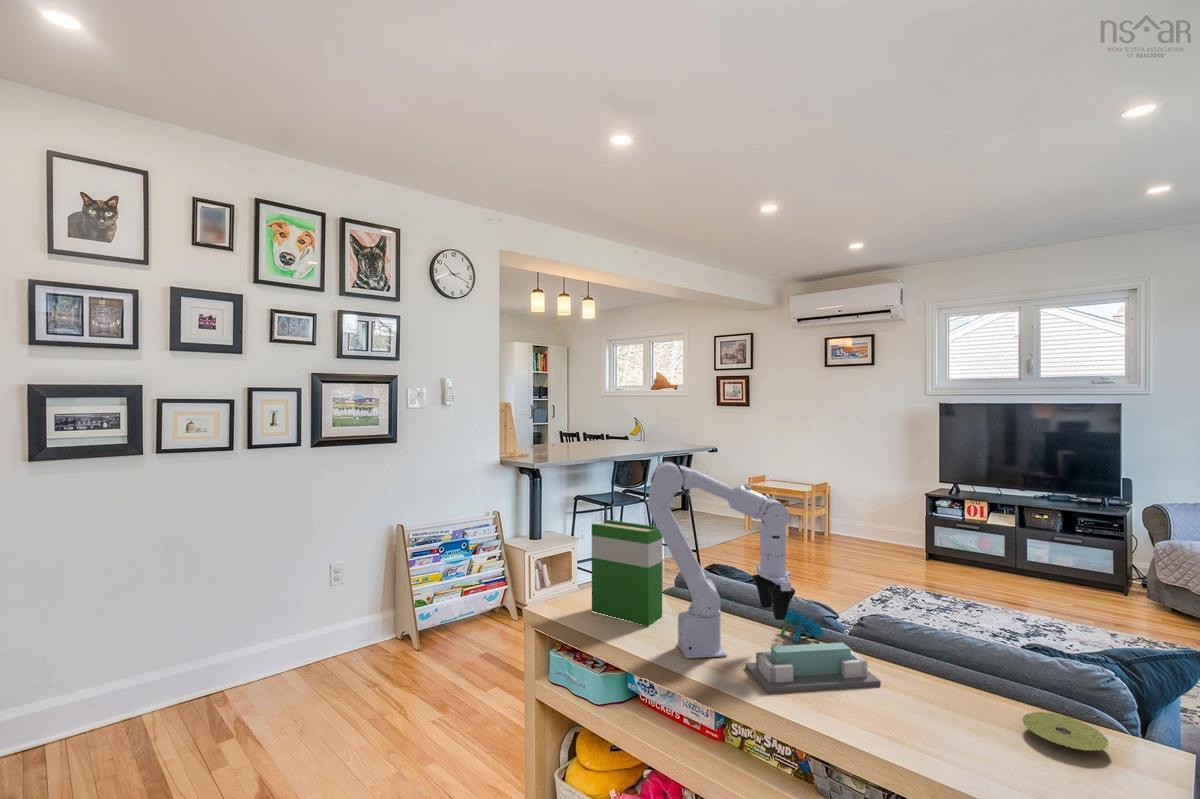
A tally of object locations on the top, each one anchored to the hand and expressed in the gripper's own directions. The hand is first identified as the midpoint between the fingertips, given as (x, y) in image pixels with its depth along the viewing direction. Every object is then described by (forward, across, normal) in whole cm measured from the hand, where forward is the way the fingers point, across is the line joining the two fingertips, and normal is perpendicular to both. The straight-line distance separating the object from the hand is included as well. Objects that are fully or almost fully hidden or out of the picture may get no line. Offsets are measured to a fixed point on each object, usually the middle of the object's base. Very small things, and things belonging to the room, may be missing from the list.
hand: (772, 612), depth 131 cm
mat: (+9, -38, -35) cm, 52 cm away
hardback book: (+10, +26, +30) cm, 41 cm away
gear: (+9, +7, -10) cm, 15 cm away
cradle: (+9, -12, -3) cm, 15 cm away
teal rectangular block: (+8, -12, -3) cm, 15 cm away
